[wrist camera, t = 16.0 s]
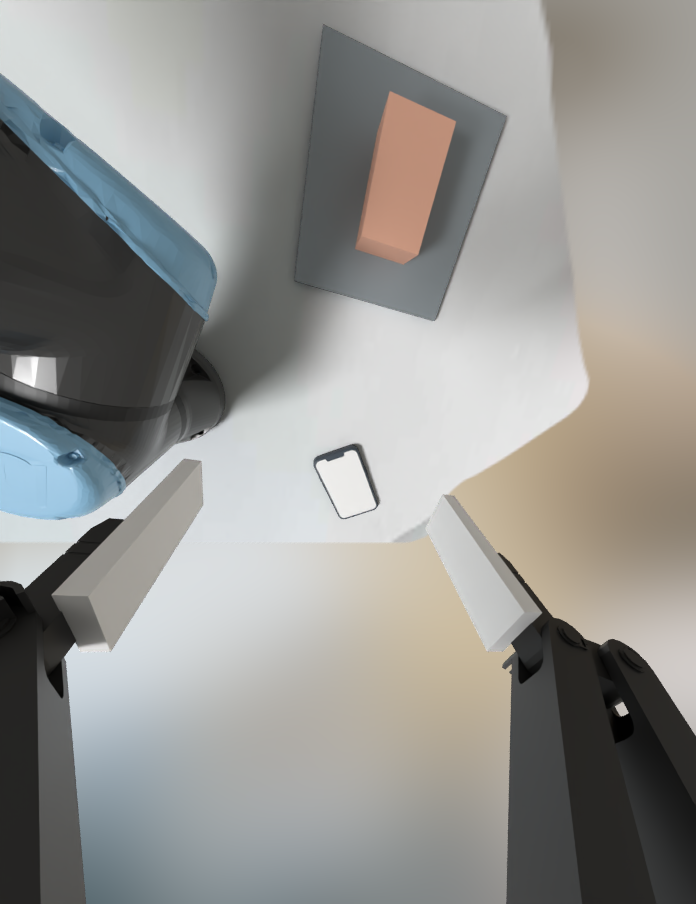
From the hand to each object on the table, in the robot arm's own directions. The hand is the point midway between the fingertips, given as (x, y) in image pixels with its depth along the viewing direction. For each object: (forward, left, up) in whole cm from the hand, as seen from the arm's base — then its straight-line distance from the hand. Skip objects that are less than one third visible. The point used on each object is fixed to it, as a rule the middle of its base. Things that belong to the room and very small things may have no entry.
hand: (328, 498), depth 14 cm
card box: (+4, +22, -28) cm, 36 cm away
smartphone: (+8, -19, -29) cm, 36 cm away
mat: (+4, +22, -29) cm, 36 cm away
